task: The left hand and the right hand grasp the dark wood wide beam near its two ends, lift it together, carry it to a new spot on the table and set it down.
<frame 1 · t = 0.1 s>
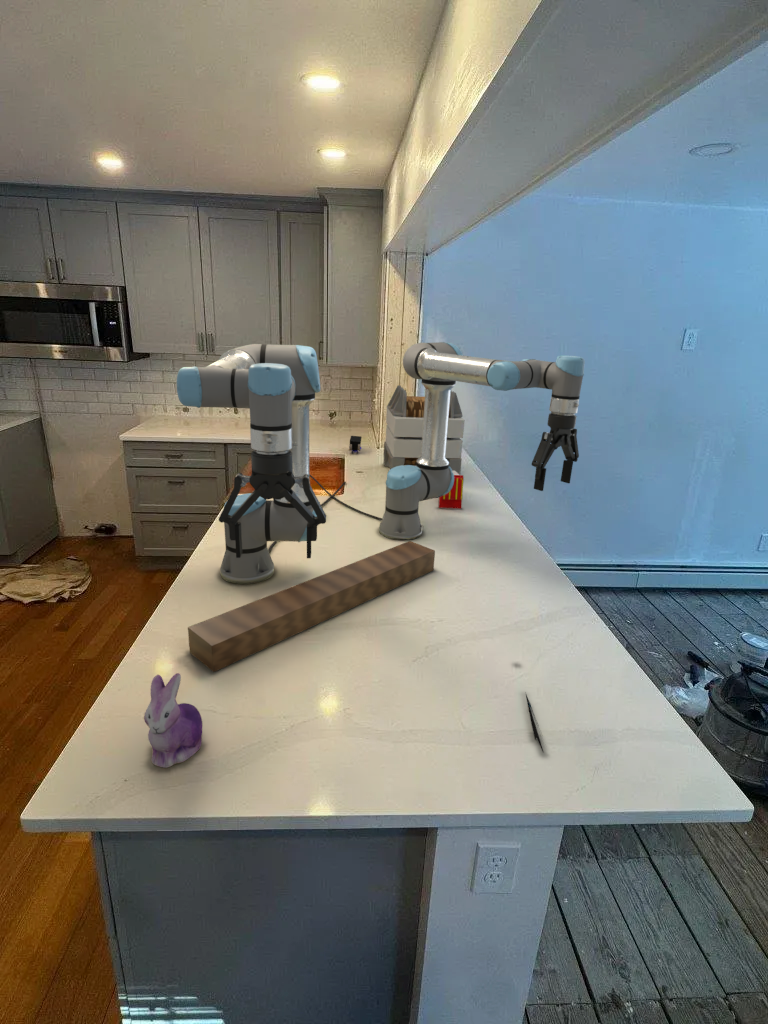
left hand: (274, 555, 112), 28 cm above the counter, tool pointing down, fingers open, 13 cm apart
right hand: (552, 486, 166), 28 cm above the counter, tool pointing down, fingers open, 13 cm apart
grey slatted crate: (419, 473, 275), on the counter
figurine character: (355, 451, 310), on the counter
figurine: (177, 750, 100), on the counter
feather: (527, 705, 115), on the counter
toy: (445, 498, 240), on the counter
fossil: (295, 511, 217), on the counter
wide beam: (330, 605, 150), on the counter
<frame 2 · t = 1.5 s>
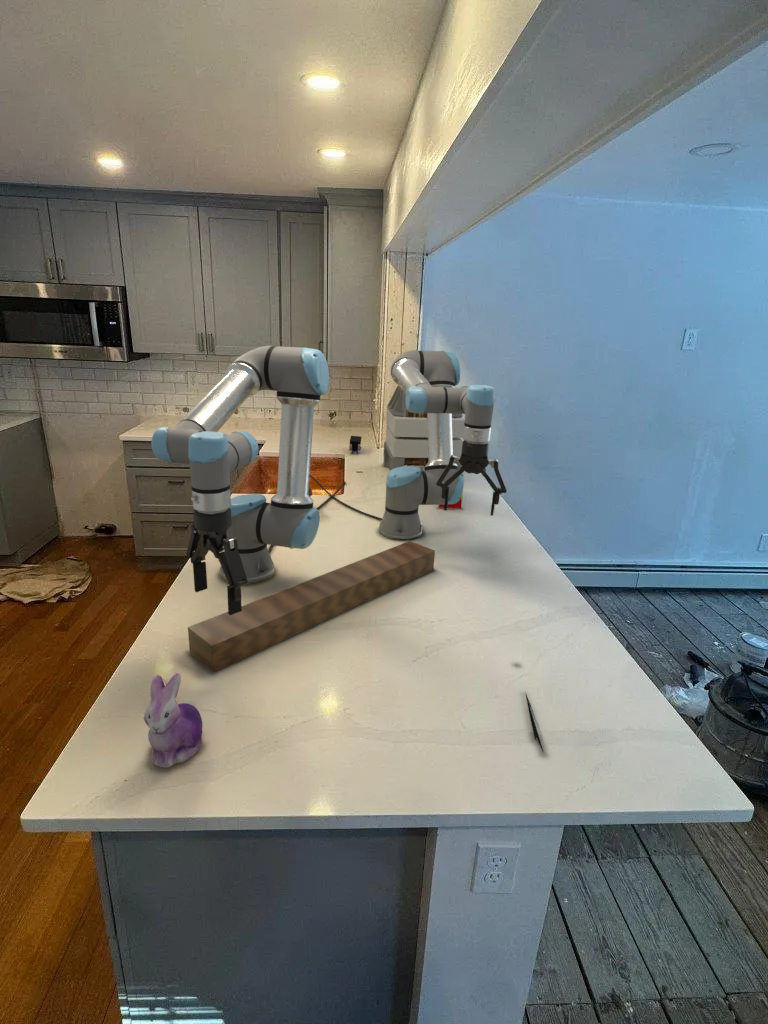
left hand: (217, 601, 123), 13 cm above the counter, tool pointing down, fingers open, 13 cm apart
right hand: (468, 511, 168), 19 cm above the counter, tool pointing down, fingers open, 13 cm apart
nothing on the counter moved.
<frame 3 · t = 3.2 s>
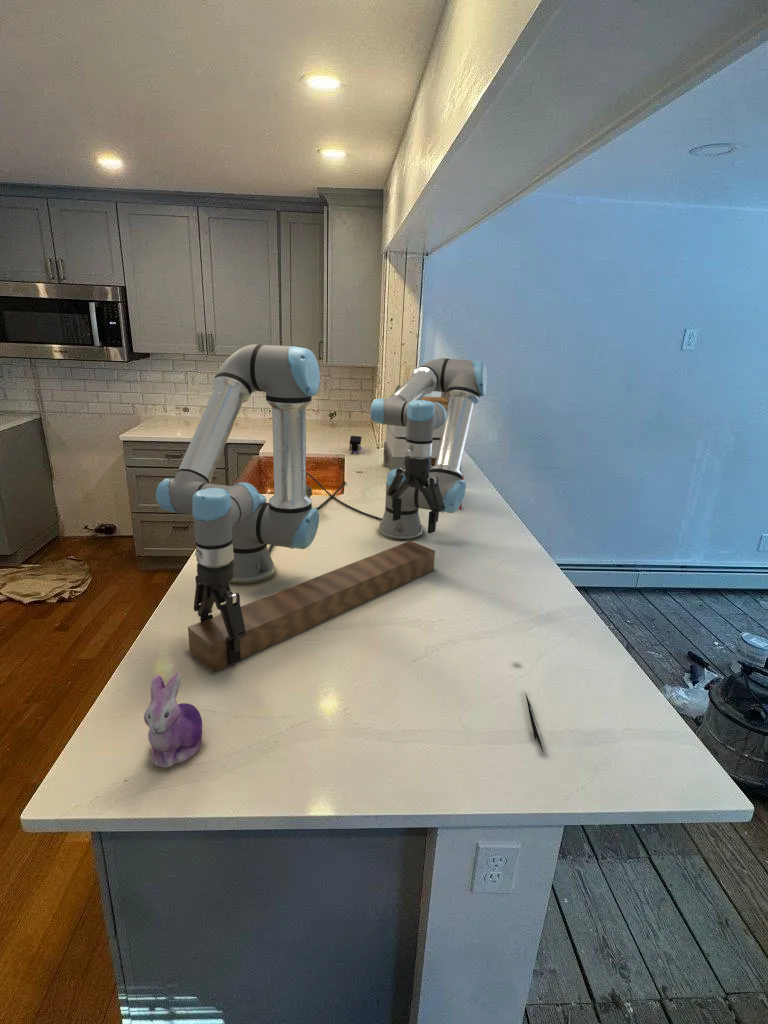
left hand: (221, 651, 127), 1 cm above the counter, tool pointing down, fingers closed on wide beam, 10 cm apart
right hand: (413, 525, 168), 14 cm above the counter, tool pointing down, fingers open, 13 cm apart
wide beam: (330, 605, 150), on the counter, touching left hand
everything else where it was.
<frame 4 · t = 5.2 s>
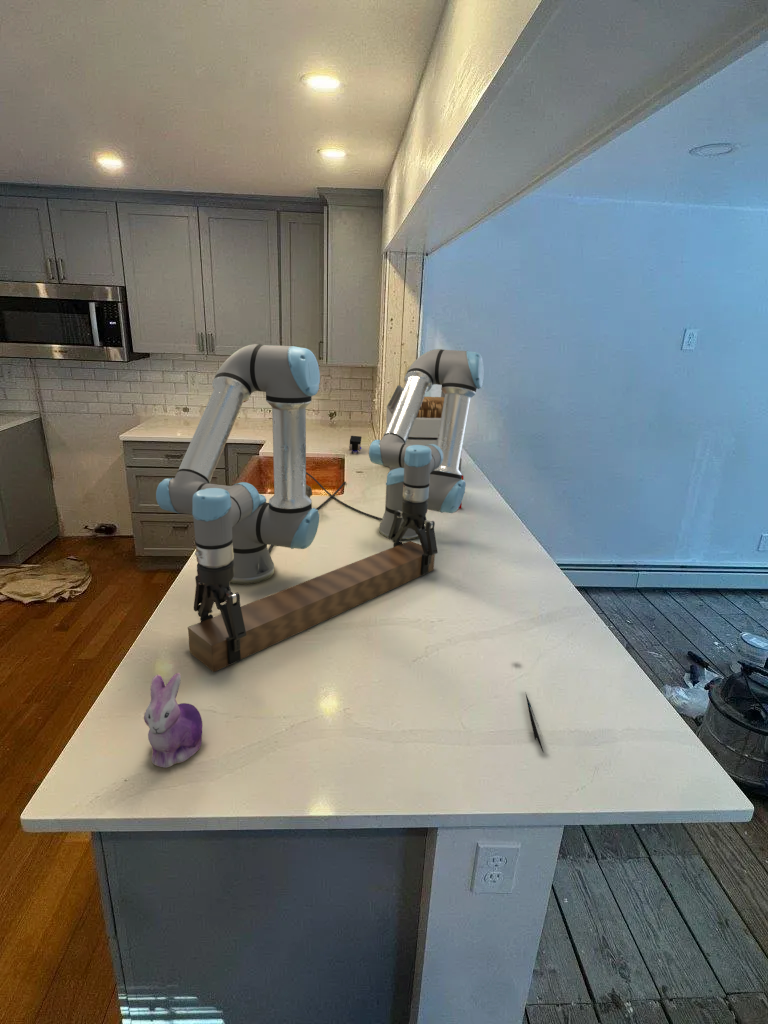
left hand: (221, 651, 127), 1 cm above the counter, tool pointing down, fingers closed on wide beam, 10 cm apart
right hand: (410, 567, 173), 1 cm above the counter, tool pointing down, fingers closed on wide beam, 10 cm apart
wide beam: (330, 605, 150), on the counter, touching right hand, left hand
everything else where it was.
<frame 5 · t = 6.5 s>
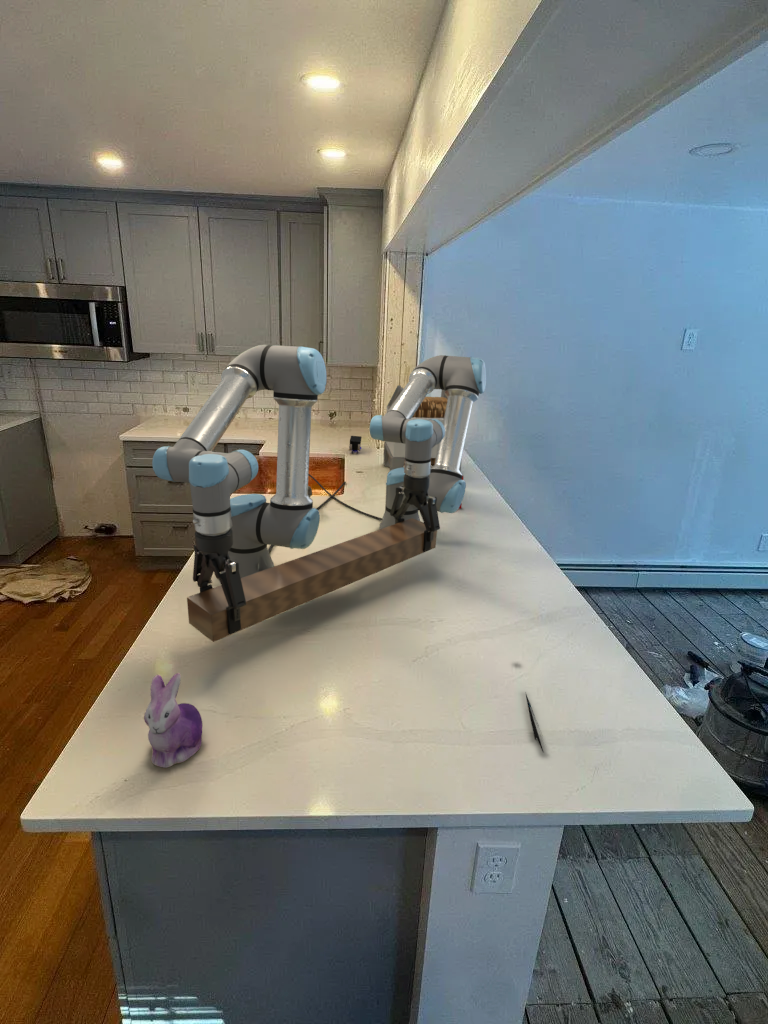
left hand: (221, 621, 126), 8 cm above the counter, tool pointing down, fingers closed on wide beam, 10 cm apart
right hand: (413, 544, 171), 8 cm above the counter, tool pointing down, fingers closed on wide beam, 10 cm apart
wide beam: (331, 579, 148), point 7 cm above the counter, touching right hand, left hand
everything else where it was.
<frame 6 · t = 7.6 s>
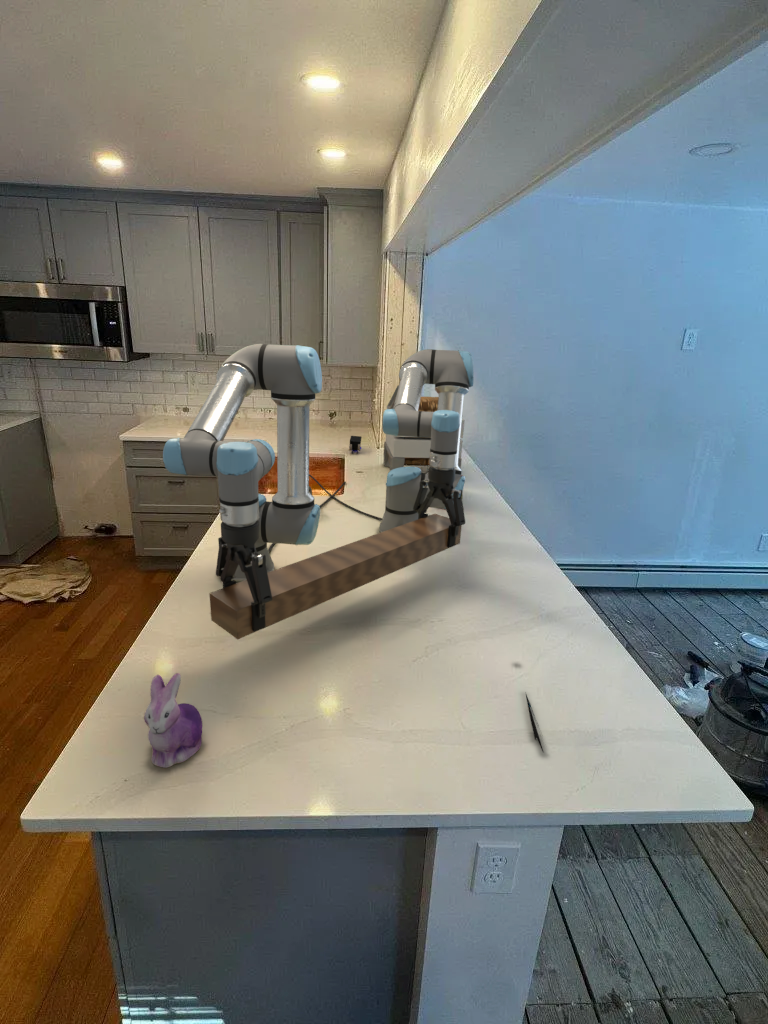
left hand: (244, 618, 120), 11 cm above the counter, tool pointing down, fingers closed on wide beam, 10 cm apart
right hand: (436, 540, 166), 12 cm above the counter, tool pointing down, fingers closed on wide beam, 10 cm apart
wide beam: (355, 575, 143), point 11 cm above the counter, touching right hand, left hand
everything else where it was.
when the left hand's fingers open (2 cm above the counter, at t = 10.2 s): wide beam drops 1 cm, on the counter.
when the right hand's fingers open (2 cm above the counter, at t = 10.2 s): wide beam drops 1 cm, on the counter.
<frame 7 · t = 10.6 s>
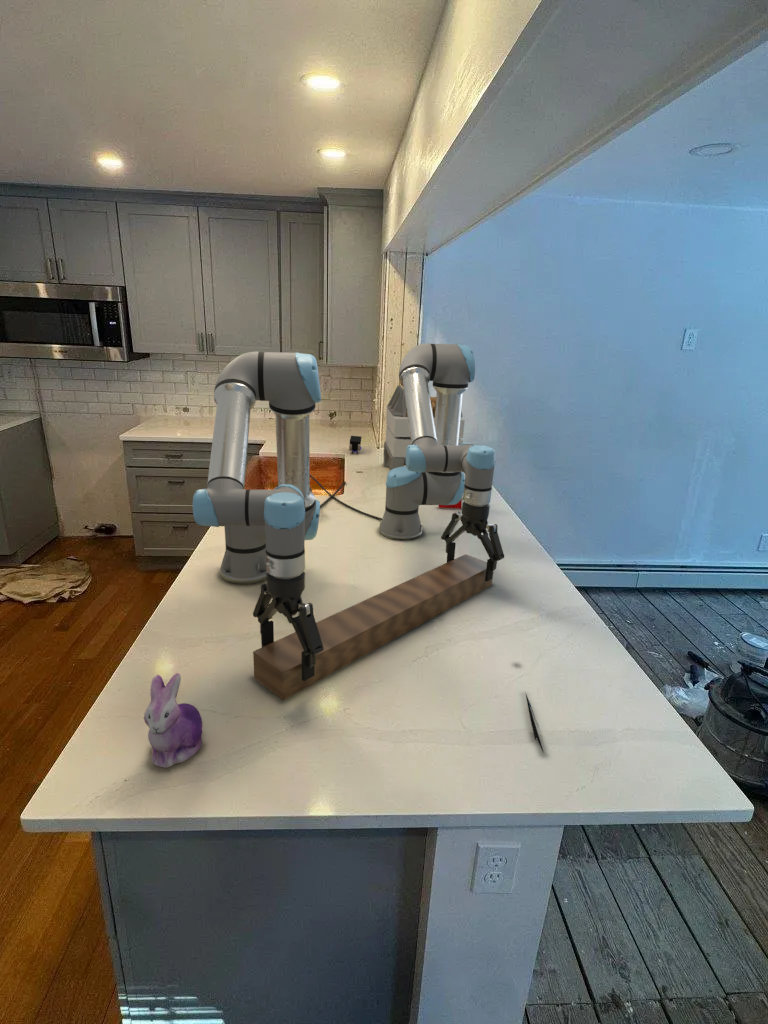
left hand: (287, 663, 119), 4 cm above the counter, tool pointing down, fingers open, 13 cm apart
right hand: (468, 571, 164), 4 cm above the counter, tool pointing down, fingers open, 13 cm apart
wide beam: (391, 624, 143), on the counter
everything else where it was.
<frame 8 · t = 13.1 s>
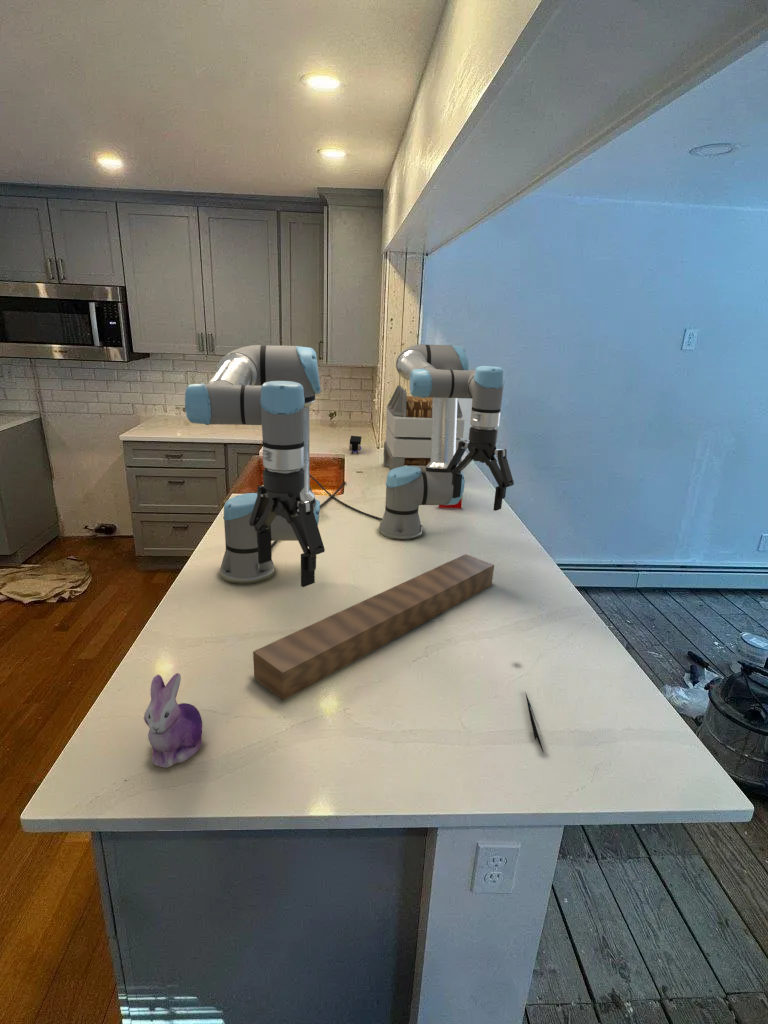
left hand: (285, 572, 111), 25 cm above the counter, tool pointing down, fingers open, 13 cm apart
right hand: (476, 503, 157), 25 cm above the counter, tool pointing down, fingers open, 13 cm apart
nothing on the counter moved.
at the end: wide beam inside the target area (0.2 cm from its centre), on the counter; wide beam tilted 0°; wide beam never tilted more than 1° during the clip; both hands held the wide beam at the same time; the left hand is holding nothing; the right hand is holding nothing; wide beam at rest at the end (0.0 cm/s) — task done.
